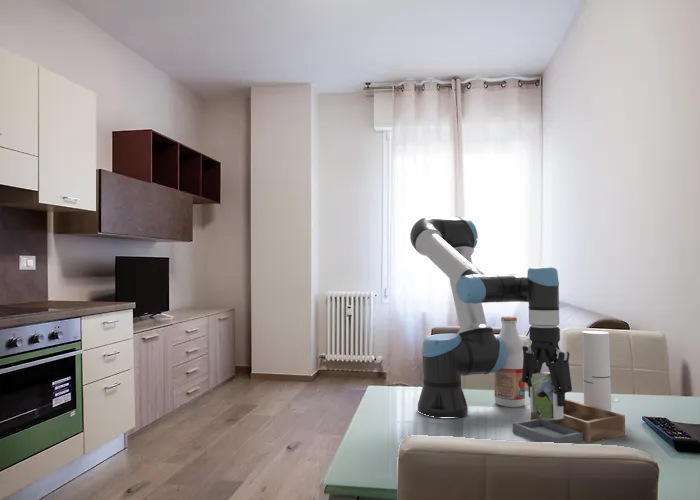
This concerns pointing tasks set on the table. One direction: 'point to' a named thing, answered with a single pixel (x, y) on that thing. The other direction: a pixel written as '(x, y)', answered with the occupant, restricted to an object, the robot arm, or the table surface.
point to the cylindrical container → (596, 369)
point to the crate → (590, 421)
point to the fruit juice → (510, 367)
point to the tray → (547, 431)
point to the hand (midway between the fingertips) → (546, 414)
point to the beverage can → (543, 394)
